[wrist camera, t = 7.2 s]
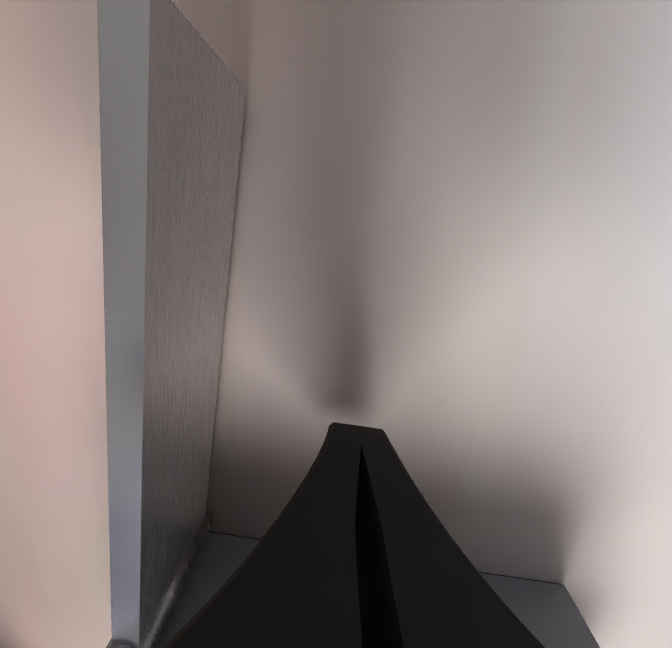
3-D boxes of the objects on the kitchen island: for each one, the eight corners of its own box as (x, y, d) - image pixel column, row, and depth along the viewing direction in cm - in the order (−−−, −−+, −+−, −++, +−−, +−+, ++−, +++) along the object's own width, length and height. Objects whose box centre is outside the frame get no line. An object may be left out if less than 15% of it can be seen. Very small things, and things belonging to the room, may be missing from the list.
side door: (210, 534, 11) (141, 687, 7) (163, 525, 11) (70, 675, 7) (256, 94, 7) (158, -34, 4) (183, 77, 7) (7, -66, 3)
